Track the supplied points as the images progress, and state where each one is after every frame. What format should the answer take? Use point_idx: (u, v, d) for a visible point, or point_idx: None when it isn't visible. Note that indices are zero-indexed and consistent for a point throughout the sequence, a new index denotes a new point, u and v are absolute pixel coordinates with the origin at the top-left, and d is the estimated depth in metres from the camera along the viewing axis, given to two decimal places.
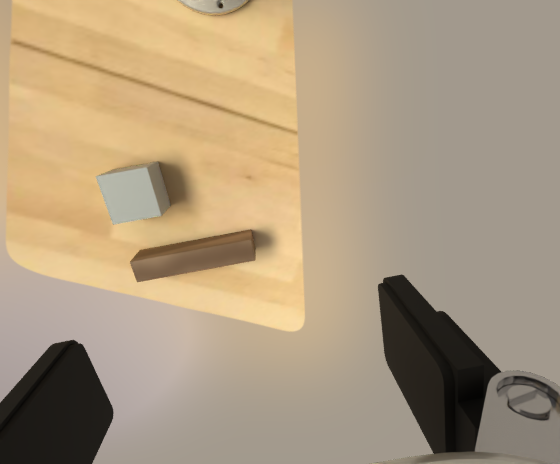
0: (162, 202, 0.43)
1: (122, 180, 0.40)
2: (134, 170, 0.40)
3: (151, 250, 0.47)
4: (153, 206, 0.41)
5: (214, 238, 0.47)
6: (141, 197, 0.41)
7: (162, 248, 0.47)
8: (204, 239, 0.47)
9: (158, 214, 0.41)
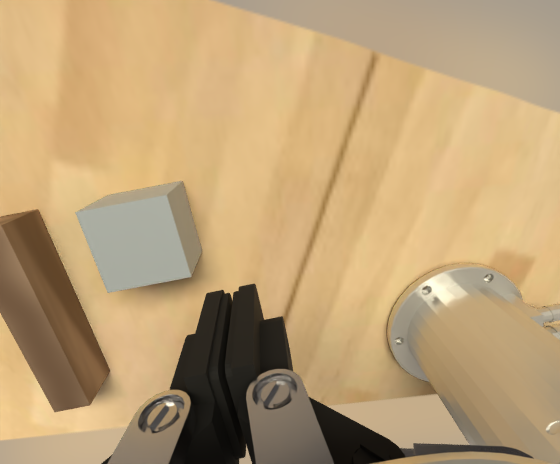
0: None
1: (164, 237, 0.23)
2: (184, 258, 0.23)
3: (40, 237, 0.26)
4: (123, 282, 0.24)
5: (84, 330, 0.29)
6: (137, 265, 0.23)
7: (48, 255, 0.27)
8: (80, 314, 0.29)
9: (109, 288, 0.24)
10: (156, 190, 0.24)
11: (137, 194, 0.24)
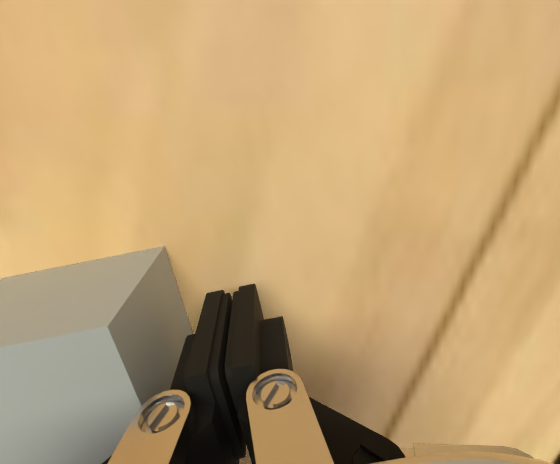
0: None
1: (108, 425, 0.09)
2: None
3: None
4: None
5: None
6: None
7: None
8: None
9: None
10: (97, 284, 0.10)
11: (50, 296, 0.10)
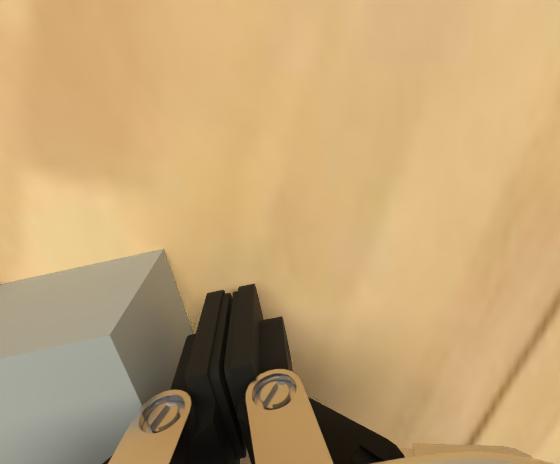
0: None
1: (112, 434, 0.09)
2: None
3: None
4: None
5: None
6: None
7: None
8: None
9: None
10: (96, 290, 0.10)
11: (48, 303, 0.10)
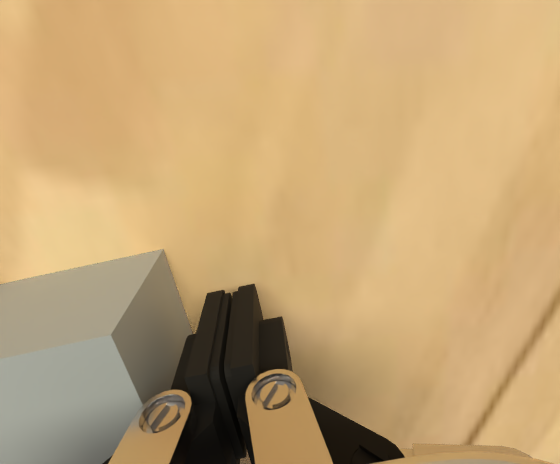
0: None
1: (112, 434, 0.09)
2: None
3: None
4: None
5: None
6: None
7: None
8: None
9: None
10: (97, 290, 0.10)
11: (48, 303, 0.10)
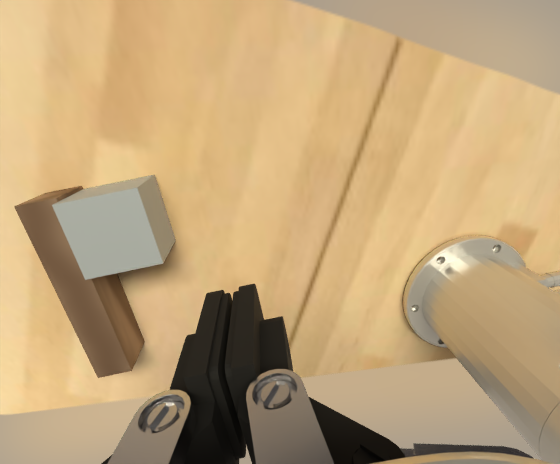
0: None
1: (136, 227, 0.25)
2: (155, 246, 0.25)
3: None
4: (99, 269, 0.26)
5: (123, 302, 0.31)
6: (112, 253, 0.25)
7: None
8: (119, 286, 0.31)
9: (86, 275, 0.26)
10: (129, 183, 0.26)
11: (111, 187, 0.26)
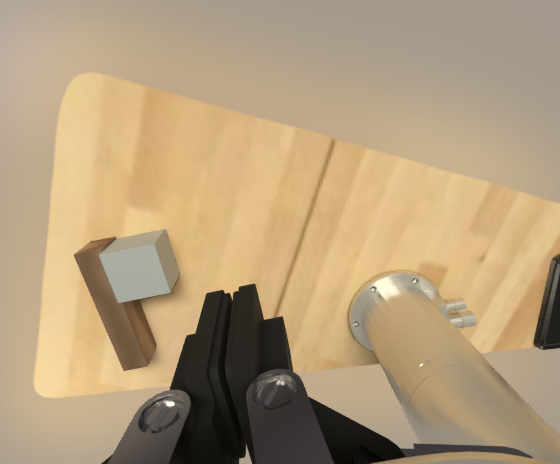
0: None
1: (153, 269, 0.37)
2: (165, 281, 0.38)
3: None
4: (127, 296, 0.38)
5: (142, 317, 0.43)
6: (136, 286, 0.38)
7: None
8: (139, 305, 0.43)
9: (119, 300, 0.38)
10: (148, 238, 0.38)
11: (136, 240, 0.38)
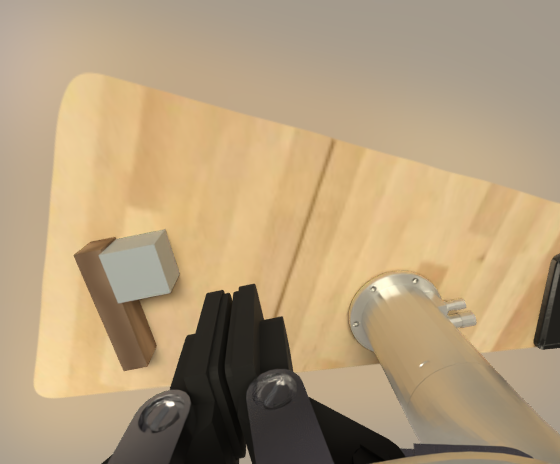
0: None
1: (153, 269, 0.37)
2: (165, 281, 0.38)
3: None
4: (127, 296, 0.38)
5: (142, 317, 0.43)
6: (136, 286, 0.37)
7: None
8: (139, 305, 0.43)
9: (119, 300, 0.38)
10: (148, 238, 0.38)
11: (136, 241, 0.38)
